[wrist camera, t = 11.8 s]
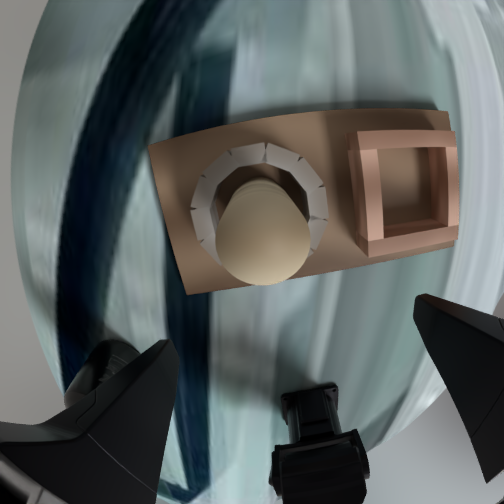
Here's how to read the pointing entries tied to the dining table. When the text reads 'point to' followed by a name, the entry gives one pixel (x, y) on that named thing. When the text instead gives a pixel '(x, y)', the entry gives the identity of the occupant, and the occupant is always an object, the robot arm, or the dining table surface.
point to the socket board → (322, 160)
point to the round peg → (262, 234)
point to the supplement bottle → (99, 368)
